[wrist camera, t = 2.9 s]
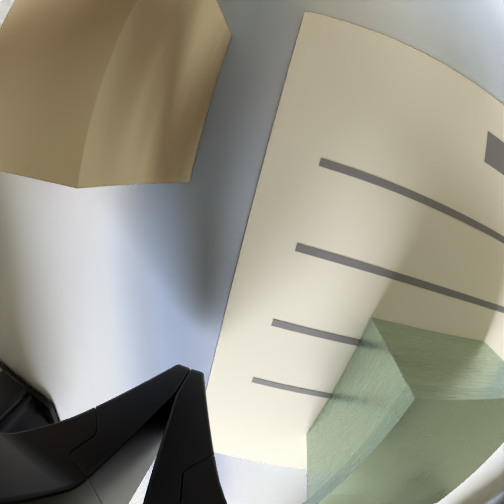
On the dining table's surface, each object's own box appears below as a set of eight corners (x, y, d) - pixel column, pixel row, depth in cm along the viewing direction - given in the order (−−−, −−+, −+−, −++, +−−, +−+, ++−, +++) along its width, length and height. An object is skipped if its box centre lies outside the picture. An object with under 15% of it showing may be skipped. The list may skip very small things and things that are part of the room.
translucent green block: (416, 442, 9) (436, 502, 5) (301, 436, 10) (301, 516, 6) (488, 339, 8) (540, 393, 4) (368, 311, 8) (414, 398, 4)
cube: (190, 182, 8) (77, 188, 3) (72, 160, 8) (-39, 163, 4) (232, 36, 7) (182, -69, 2) (108, 38, 7) (22, -11, 2)
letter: (416, 467, 10) (417, 469, 10) (194, 444, 11) (193, 446, 11) (561, 163, 6) (562, 162, 5) (304, 12, 6) (305, 10, 6)
